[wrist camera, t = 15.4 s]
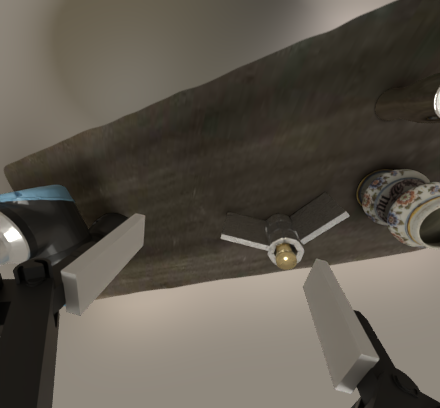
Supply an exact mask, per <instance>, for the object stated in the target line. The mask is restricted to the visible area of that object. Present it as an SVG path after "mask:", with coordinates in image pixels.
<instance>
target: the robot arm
mask: <svg viewBox="0 0 440 408" xmlns="http://www.w3.org/2000/svg"><path fill="white" fill-rule="evenodd" d="M144 226H145V215H141V214H137V213H135V214H134V215H133V216H131V217H130V218H129V219H128V218H127V217H125V216H123V215H120V214H116V213H109V214H105V215H103V216H101V217H100V218H98V219H97V220H96V221H95V222H94V223H93V224H92V226H91V227H90V229H89V230H88V228H87V226H86V224H85V222H84V220H83V218H82V216H81V214H80V212H79V211H78V209H77V207H76V205H75V200H74V199H72V197H71V195H70V194H69V192H68V190H67V189H66V188H65V187H64V186H61V185H49V186H42V187H36V188H31V189H25V190H21V191H15V192H10V193H4V194H0V266H2V265H4V264H5V263H14V264H19V265H18V266H16V267H15V268H14V270H13V273H14V277H15V279H2V277H1V274H0V408H52V400H53V388H54V376H55V364H56V352H57V338H58V327H59V310H60V309H61V308H62V307H63V306H66V311H67V312H69V313H72V314H76V315H79V316H81V314H82V313H83V312H84V311H85V310H86V309H87V308H88V307H89V305H90V304H91V303H92V302H93V301H94V300H95V299H96V298H97V297H98V295H99V294H100V293H101V292H102V291H103V290H104V289H105V288H106V286H107V285H108V284H109V283H110V282H111V281H112V280H113V279H114V277H115V276H116V275H117V274H118V273H119V272H120V271H121V270H122V269H123V267H124V266H125V265H126V264H127V263H128V262H129V261H130V260H131V258H132V257H133V256H134V255H135V254H136V253H137V252H138V251H139V250H140V248H141V247H142V246H143V243H144ZM303 289H304V292H305V295H306V299H307V302H308V305H309V308H310V311H311V315H312V318H313V321H314V324H315V328H316V330H317V334H318V337H319V340H320V343H321V347H322V350H323V353H324V356H325V359H326V363H327V366H328V369H329V372H330V375H331V379H332V382H333V385H334V388H335V390H339V391H342V392H346V393H349V394H351V393H352V392H353V391H354V389H355V388H356V387H357V388H358V391H359V393H360V396H361V397H360V398H359V400H358V401H357V402H356V403H355V404H354V405H353V406H352V407H351V408H440V403H439V402H438V401H436V400H434V399H432V398H430V397H429V396H427V395H425V394H423V393H422V392H420V390H419V389H418V387H417V386H416V384H415V383H414V382H413V381H412V380H411V379H410V378H409V377H408V376H407V375H406V374H405V373H403V372H402V371H400V370H399V369H396V368H395V366H394V365H393V363H392V361H391V359H390V358H389V356H388V354H387V353H386V351H385V349H384V348H383V346H382V344H381V342H380V341H379V339H377V336H376V334H375V332H374V331H373V329H372V327H371V326H370V324H369V322H368V320H367V319H366V318H365V317H364V316H363V315H362V314H361V313H360V312H359V311H355V310H353V309H352V307H351V305H350V303H349V301H348V300H347V298H346V296H345V294H344V292H343V290H342V288H341V287H340V285H339V283H338V281H337V279H336V277H335V276H334V274H333V272H332V270H331V268H330V266H329V265H328V263H327V261H323V260H319V259H316V260H315V262H314V264H313V267H312V269H311V271H310V273H309V275H308V277H307V279H306V281H305V283H304V286H303Z"/></svg>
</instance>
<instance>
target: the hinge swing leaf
mask: <svg viewBox="0 0 440 408" xmlns="http://www.w3.org/2000/svg"><path fill="white" fill-rule="evenodd" d="M290 217H291V220H292V222H293V223H292V224H291V223H290V222H289V223H288V222H287V221H277V222H276V221H275V222H274V223H272V224H271V225H270V226H268V228H267V231H266V236H267V237H269V235H271V233H272V232H275V231H277V230H279V229H281V230H282V228H283V229H287V230H291V231H294V232H295V233H296V235H297V236H298V238H299V240H300V241H301V242H302V243H303V244H305V243H307V242H308V241H310V240H312V239H313V238H315V237H317V236H318V235H320V234H321V233H323V232H325V231H326V230H328V229H329V228H331V227H333V226H334V225H336V224H338V223H339V222H341V221H342V220H344V219H346V218H347V217H349V214H348V213H347V212H346V211H345V210H344V209H343V208H342V207H341V206H340V205H339V204H338V203H336V202H335V201H334V200H333V199H332V198H331V197H330V196H329V195H328V194H327V193H326V192H324V193H323V194H322V195H320V196H319V197H317V198H316V199H314V200H313V201H311V202H310V203H309V204H307V205H306V206H304V207H303V208H301V209H300V210H298V211H297V212H296V213H294V214H293V215H291V216H290ZM290 247H291V249H292V247H293V244H290ZM275 249H276V248H275Z"/></svg>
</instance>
